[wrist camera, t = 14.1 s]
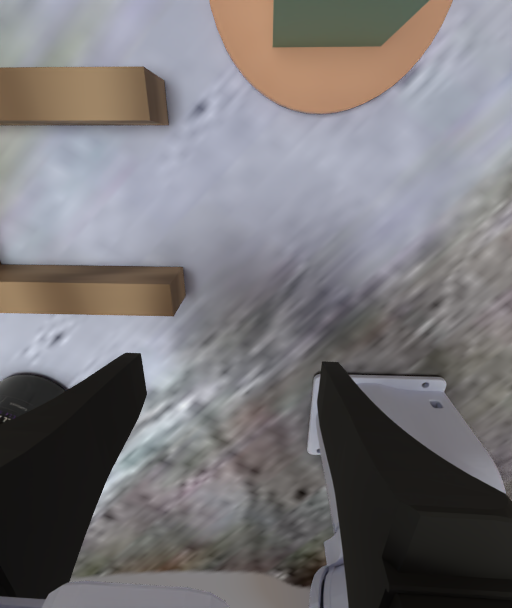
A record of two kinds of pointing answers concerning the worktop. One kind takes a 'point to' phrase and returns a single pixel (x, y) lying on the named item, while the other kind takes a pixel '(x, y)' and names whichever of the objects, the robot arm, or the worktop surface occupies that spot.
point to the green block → (339, 22)
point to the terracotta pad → (320, 58)
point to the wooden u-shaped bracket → (86, 111)
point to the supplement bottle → (25, 395)
